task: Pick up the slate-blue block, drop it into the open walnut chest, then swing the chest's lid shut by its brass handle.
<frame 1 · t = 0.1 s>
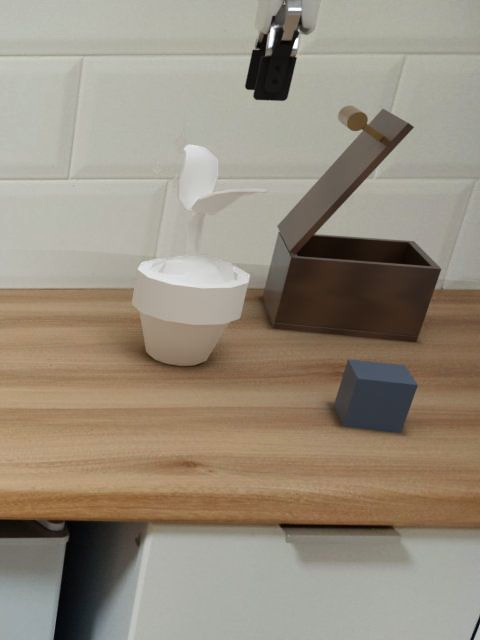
hand: (264, 94, 95), 26 cm above the table, tool pointing down, fingers open, 9 cm apart
potted plant: (178, 360, 99), on the table
chest: (334, 318, 111), on the table
block: (366, 419, 86), on the table
lid: (323, 170, 104), point 18 cm above the table, hinge at 60.0°
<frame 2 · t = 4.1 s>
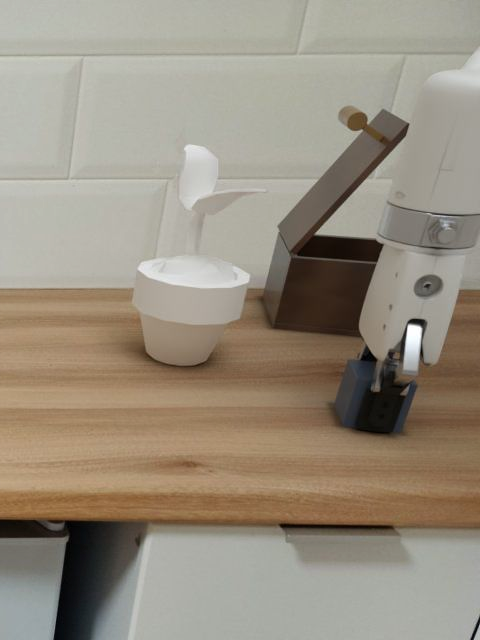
hand: (367, 415, 86), 0 cm above the table, tool pointing down, fingers closed on block, 5 cm apart
block: (366, 419, 86), on the table, touching gripper
everything else where it was.
when the fingers open (21 cm above the table, at t = 10.9 s): block drops 20 cm, resting on chest.
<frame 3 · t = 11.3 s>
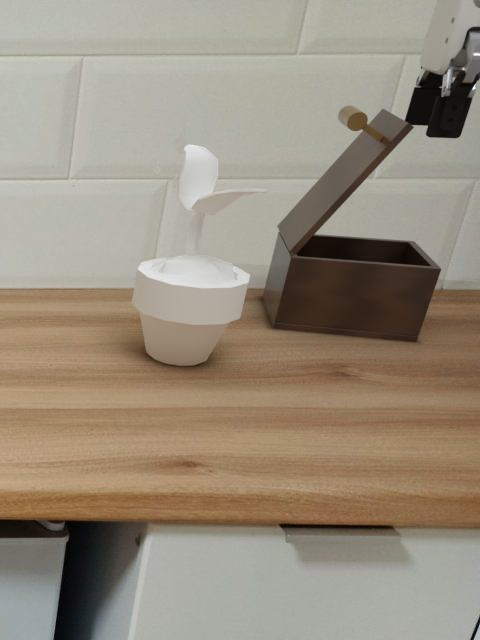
hand: (430, 130, 99), 22 cm above the table, tool pointing down, fingers open, 9 cm apart
block: (371, 316, 110), point 1 cm above the table, touching chest
everything else where it was.
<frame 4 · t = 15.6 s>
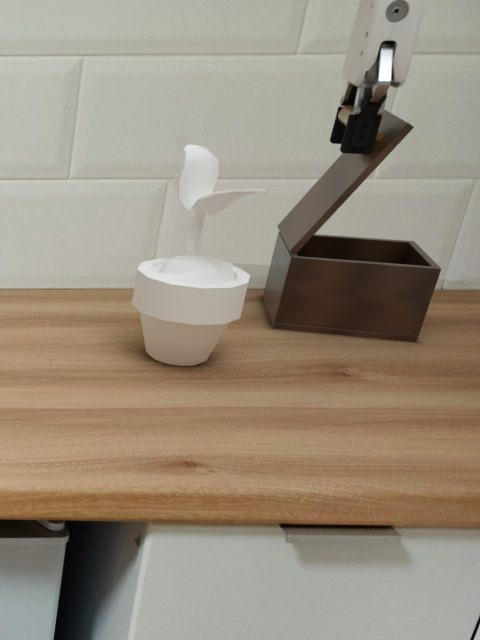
hand: (349, 146, 102), 20 cm above the table, tool pointing down, fingers closed on lid, 6 cm apart
lid: (323, 170, 104), point 18 cm above the table, hinge at 60.0°, touching gripper
everything else where it was.
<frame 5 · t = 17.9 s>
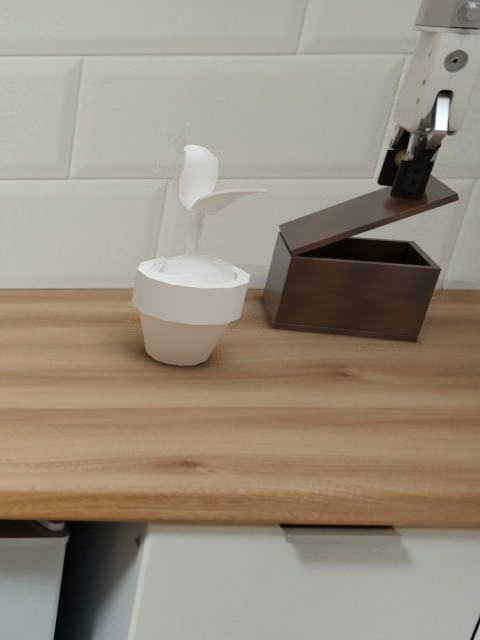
hand: (398, 190, 103), 16 cm above the table, tool pointing down, fingers closed on lid, 6 cm apart
lid: (357, 196, 104), point 15 cm above the table, hinge at 26.4°, touching gripper
everything else where it was.
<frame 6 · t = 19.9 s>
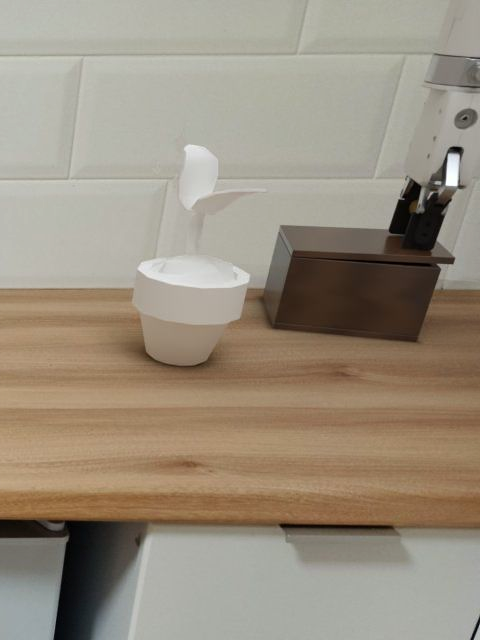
hand: (409, 239, 105), 10 cm above the table, tool pointing down, fingers closed on lid, 6 cm apart
lid: (365, 224, 105), point 12 cm above the table, hinge at 1.7°, touching gripper
everything else where it was.
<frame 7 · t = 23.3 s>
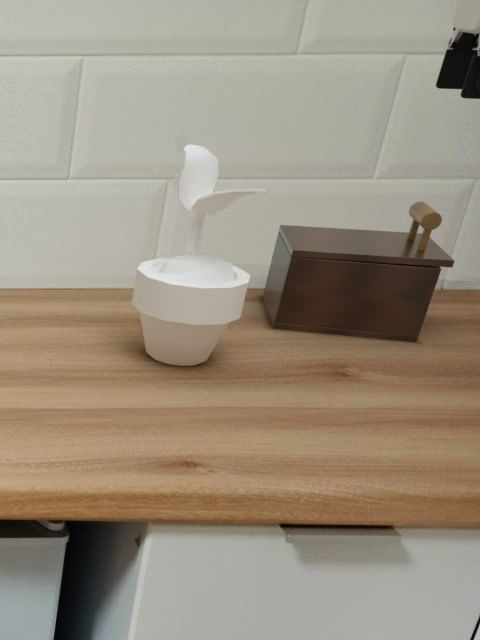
hand: (463, 93, 97), 26 cm above the table, tool pointing down, fingers open, 9 cm apart
lid: (365, 226, 105), point 12 cm above the table, hinge at 0.6°
everything else where it was.
at the end: block inside the target area in the chest (4.0 cm from its centre), point 0.8 cm above the chest's base; lid at +1° (first picture: +60°) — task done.
